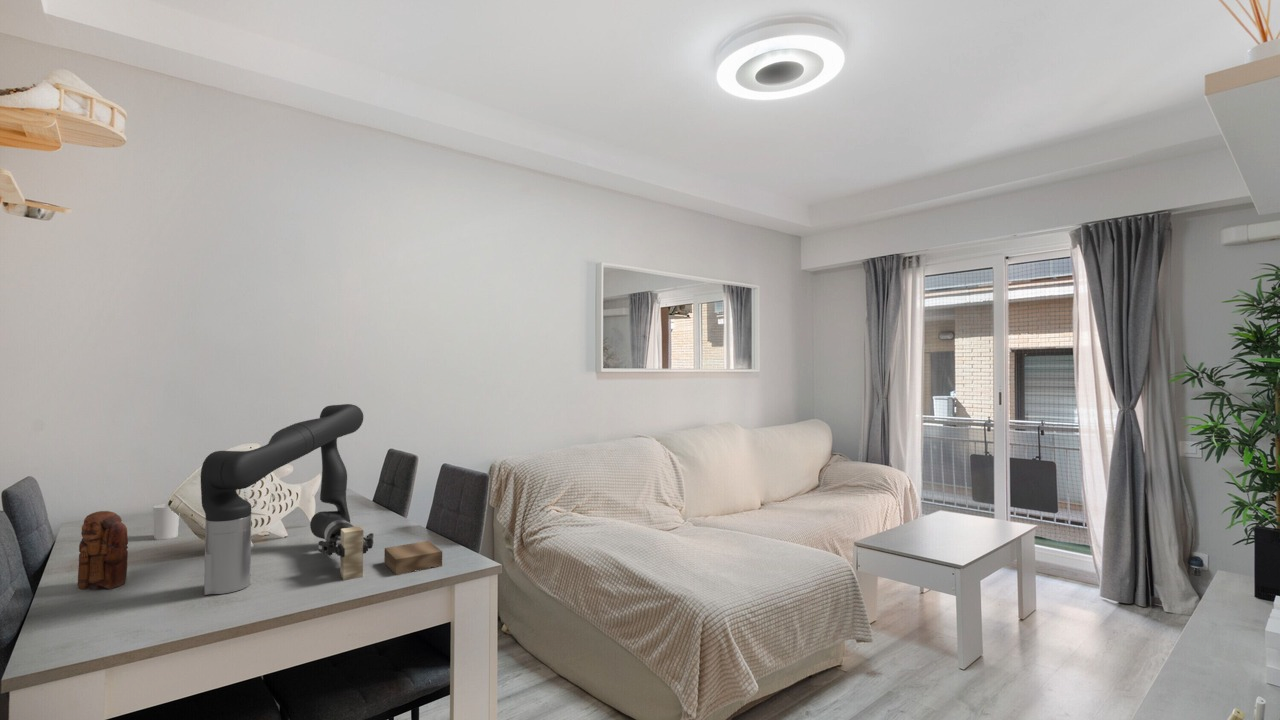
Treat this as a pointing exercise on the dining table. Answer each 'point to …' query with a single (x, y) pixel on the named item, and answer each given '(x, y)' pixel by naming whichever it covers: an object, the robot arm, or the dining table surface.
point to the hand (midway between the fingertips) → (354, 551)
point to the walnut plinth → (412, 557)
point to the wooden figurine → (103, 551)
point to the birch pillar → (352, 553)
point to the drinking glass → (165, 522)
